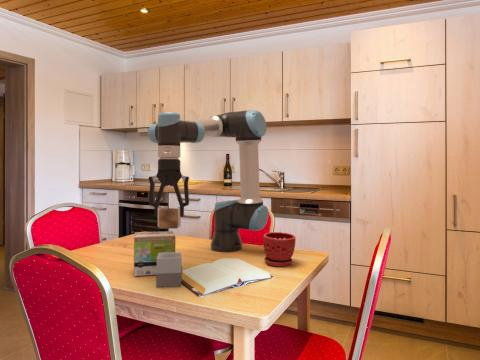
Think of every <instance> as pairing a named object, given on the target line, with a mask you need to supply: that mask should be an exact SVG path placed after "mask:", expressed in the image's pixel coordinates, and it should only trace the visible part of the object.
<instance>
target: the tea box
mask: <svg viewBox="0 0 480 360" xmlns="http://www.w3.org/2000/svg"><path fill="white" fill-rule="evenodd" d="M133 233H134V234H133V235H134V236H133V274H134V277H140V276H141V277H142V276H143V277H144V276H156V273H157V256H158V253H167V252H176V235H175V233H174V231H171V230H170V231H169V230H168V231H146V232H145V231H142V232H140V231H139V232H137V231H136V232H133Z"/></svg>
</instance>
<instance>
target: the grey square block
mask: <svg viewBox="0 0 480 360" xmlns="http://www.w3.org/2000/svg"><path fill="white" fill-rule="evenodd" d="M182 257H183V256H182V251H175V252H167V253H158V256H157V274H161V273H181V266H182ZM182 267H183V266H182Z"/></svg>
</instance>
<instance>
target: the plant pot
mask: <svg viewBox="0 0 480 360" xmlns="http://www.w3.org/2000/svg"><path fill="white" fill-rule="evenodd" d="M295 247H296V236H295V235H294V234H292V233H288V232H277V231H275V232H273V231H271V232H266V233H264V234H263V251H264V254H265V256H264V258H263V260H264V262H265V263H266V264H267V265H270V266H273V267H286V265H287V266H290V265H291V264H292V263H293V258H292V257H293V255H294V253H295V251H294V250H295Z"/></svg>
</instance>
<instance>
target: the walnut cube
mask: <svg viewBox="0 0 480 360" xmlns="http://www.w3.org/2000/svg"><path fill="white" fill-rule="evenodd" d="M178 228H179V227H178V207H177V208H168V207H167V208H166V207H165V208H162V207H161V210H159V227H158V229H163V230H164V229H167V230H168V229H178Z"/></svg>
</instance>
